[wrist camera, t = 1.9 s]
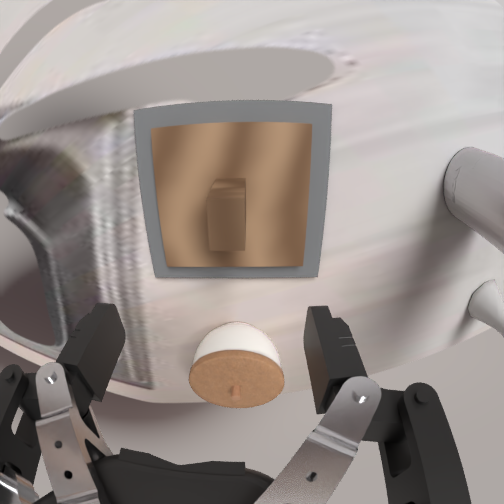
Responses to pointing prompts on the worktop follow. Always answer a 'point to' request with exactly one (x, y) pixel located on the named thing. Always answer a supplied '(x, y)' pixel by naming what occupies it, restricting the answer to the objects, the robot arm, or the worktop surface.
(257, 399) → the lidded jar
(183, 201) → the lid
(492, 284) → the flask
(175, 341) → the worktop surface
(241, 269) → the mat
